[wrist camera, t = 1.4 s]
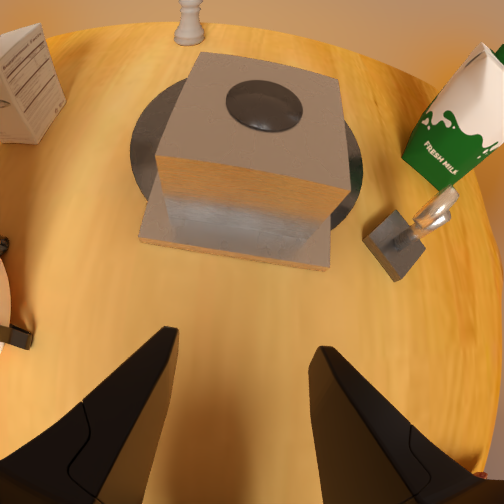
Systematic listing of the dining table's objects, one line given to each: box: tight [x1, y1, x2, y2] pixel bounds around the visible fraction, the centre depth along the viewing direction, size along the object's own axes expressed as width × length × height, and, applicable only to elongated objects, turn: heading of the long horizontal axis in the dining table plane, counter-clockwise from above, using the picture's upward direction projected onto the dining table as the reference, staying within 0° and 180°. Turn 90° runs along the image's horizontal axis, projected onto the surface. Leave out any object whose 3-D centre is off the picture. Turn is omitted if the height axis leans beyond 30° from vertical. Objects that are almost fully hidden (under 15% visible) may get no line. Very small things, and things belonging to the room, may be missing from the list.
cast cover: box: [138, 52, 351, 271], centre depth 21 cm, size 15×15×9 cm
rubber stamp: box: [362, 184, 459, 282], centre depth 21 cm, size 5×5×10 cm
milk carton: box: [402, 42, 504, 191], centre depth 22 cm, size 9×9×20 cm
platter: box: [130, 78, 363, 231], centre depth 27 cm, size 24×24×1 cm
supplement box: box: [0, 23, 66, 145], centre depth 18 cm, size 7×7×13 cm
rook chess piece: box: [174, 0, 204, 46], centre depth 28 cm, size 4×4×8 cm
